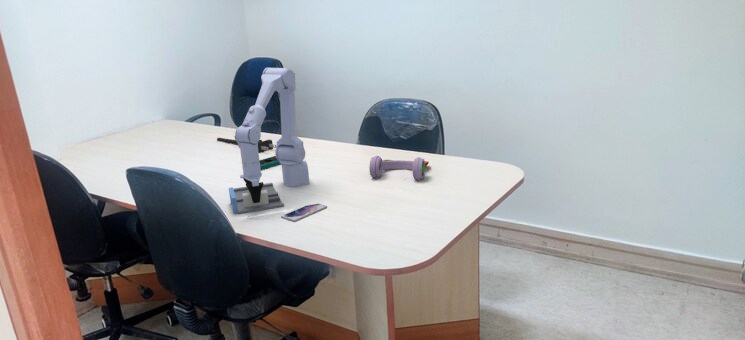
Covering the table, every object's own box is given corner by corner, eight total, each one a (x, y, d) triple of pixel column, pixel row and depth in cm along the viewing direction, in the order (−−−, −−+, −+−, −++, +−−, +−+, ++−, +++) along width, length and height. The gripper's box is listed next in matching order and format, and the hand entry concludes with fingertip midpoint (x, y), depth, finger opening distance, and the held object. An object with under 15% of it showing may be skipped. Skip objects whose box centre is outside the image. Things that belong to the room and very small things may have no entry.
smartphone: (279, 216, 175) (313, 202, 186) (280, 218, 176) (314, 204, 186) (294, 221, 171) (328, 206, 182) (294, 223, 171) (328, 208, 182)
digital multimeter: (287, 164, 232) (286, 157, 231) (257, 172, 222) (256, 165, 222) (277, 161, 237) (276, 154, 236) (247, 169, 228) (247, 162, 227)
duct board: (272, 186, 204) (270, 170, 202) (284, 208, 182) (282, 191, 180) (227, 193, 199) (225, 177, 197) (234, 217, 177) (232, 199, 176)
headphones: (368, 161, 203) (381, 140, 220) (370, 184, 207) (383, 162, 225) (420, 163, 198) (430, 142, 215) (421, 187, 202) (430, 164, 219)
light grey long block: (278, 198, 189) (277, 188, 188) (280, 201, 186) (279, 190, 185) (243, 204, 186) (242, 193, 184) (244, 207, 183) (243, 196, 182)
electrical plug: (265, 155, 245) (263, 144, 244) (211, 146, 272) (210, 136, 270) (279, 150, 252) (278, 140, 250) (226, 142, 278) (224, 132, 277)
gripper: (236, 157, 186) (240, 194, 190) (240, 169, 173) (246, 209, 177) (256, 154, 188) (261, 191, 192) (263, 166, 175) (267, 205, 179)
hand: (255, 199), depth 185 cm, fingers open, 5 cm apart
